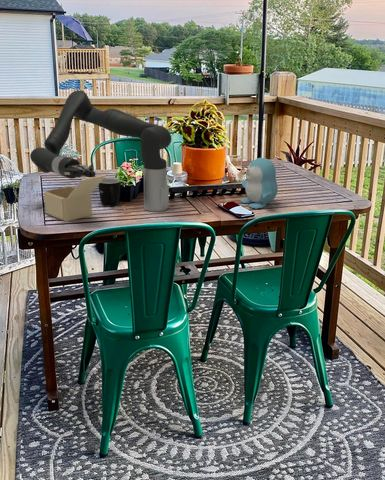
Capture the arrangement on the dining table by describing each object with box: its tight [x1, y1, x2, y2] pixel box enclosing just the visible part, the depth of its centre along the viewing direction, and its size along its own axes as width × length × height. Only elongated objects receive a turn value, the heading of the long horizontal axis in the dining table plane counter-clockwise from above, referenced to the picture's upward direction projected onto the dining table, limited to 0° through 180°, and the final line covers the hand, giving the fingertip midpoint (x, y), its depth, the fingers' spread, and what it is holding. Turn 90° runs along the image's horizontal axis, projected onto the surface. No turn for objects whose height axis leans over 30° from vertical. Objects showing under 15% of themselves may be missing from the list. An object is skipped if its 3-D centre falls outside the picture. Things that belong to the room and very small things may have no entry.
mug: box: [98, 177, 121, 207], centre depth 205 cm, size 12×9×10 cm
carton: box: [43, 185, 93, 222], centre depth 192 cm, size 14×13×9 cm
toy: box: [240, 157, 278, 210], centre depth 209 cm, size 24×14×20 cm, turn 21°
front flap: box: [67, 174, 107, 199], centre depth 181 cm, size 14×10×1 cm
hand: (93, 174), depth 176 cm, fingers closed
